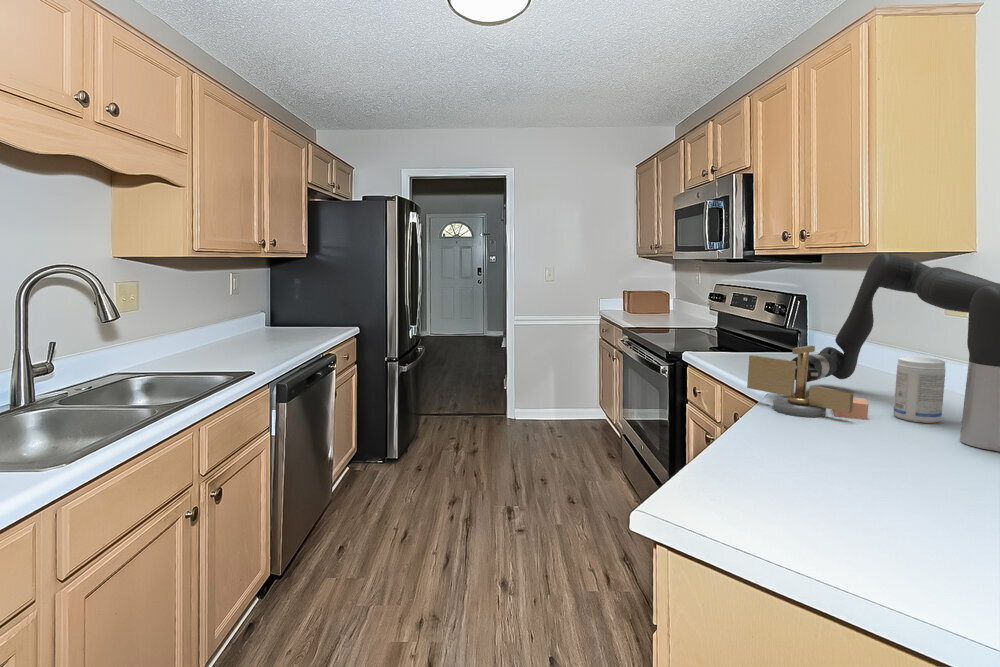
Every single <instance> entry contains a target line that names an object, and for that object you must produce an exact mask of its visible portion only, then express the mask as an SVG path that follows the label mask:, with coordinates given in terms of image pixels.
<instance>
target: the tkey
mask: <svg viewBox="0 0 1000 667" xmlns="http://www.w3.org/2000/svg"><path fill="white" fill-rule="evenodd" d="M815 351H816V346H815V345H805V346H799V347H797V346H796V347H793V348H792V354H793V355H797V357H798V362H797V375H796V380H795V368H796V361H792V360H788V359H781V358H775V357H766V356H761V355H760V356H758V355H753V354H752V355H751V354H750V355H749V356H748V370H747V371H748V372H747V385H746V386H747V387H746V388H747V389H750V390H756V391H760V392H761V391H762V392H765V393H771V394H776V395H782V396H787V398H788V402H790V403H793V404H799V405H812V406H817V407H822V408H826V410H827V409H828V410H831V411H832V410H837V411H842V412H848V413H850V412H852V407H853V397H854V396H855V392H853V391H847V390H843V389H842V390H841V389H835V388H829V387H823V386H818V385H809V389H808V390H809V391H808V396H806V394H807V383H808V382H807V372H808V359H809V355H810V353H813V352H815Z"/></svg>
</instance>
